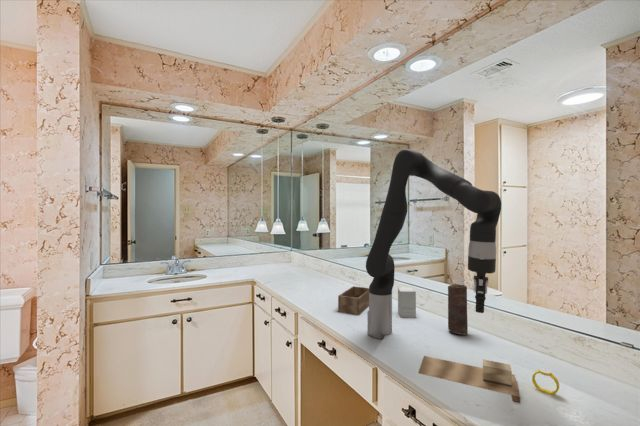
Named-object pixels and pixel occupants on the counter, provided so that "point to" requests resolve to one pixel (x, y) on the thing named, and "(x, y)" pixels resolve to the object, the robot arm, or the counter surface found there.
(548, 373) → the yellow wavy ring
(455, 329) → the rusty brown cylinder
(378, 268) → the robot arm
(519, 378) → the counter surface
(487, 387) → the board
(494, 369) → the block
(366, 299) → the open wooden box
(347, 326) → the counter surface
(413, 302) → the supplement box
